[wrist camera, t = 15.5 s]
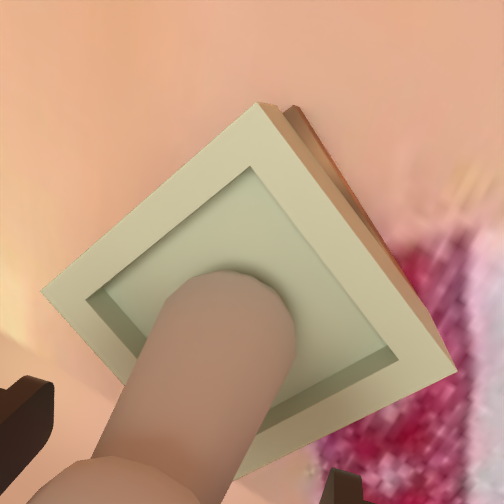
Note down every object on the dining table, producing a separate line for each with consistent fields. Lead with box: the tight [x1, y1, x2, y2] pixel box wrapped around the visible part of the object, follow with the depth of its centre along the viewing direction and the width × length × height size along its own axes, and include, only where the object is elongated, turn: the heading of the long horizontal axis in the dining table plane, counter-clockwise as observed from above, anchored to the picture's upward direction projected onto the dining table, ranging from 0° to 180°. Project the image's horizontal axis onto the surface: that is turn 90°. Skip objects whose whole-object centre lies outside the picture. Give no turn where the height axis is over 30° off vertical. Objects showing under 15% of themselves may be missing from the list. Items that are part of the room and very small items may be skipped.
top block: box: [40, 102, 457, 481], centre depth 20 cm, size 13×13×6 cm
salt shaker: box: [27, 270, 297, 504], centre depth 13 cm, size 6×6×13 cm
